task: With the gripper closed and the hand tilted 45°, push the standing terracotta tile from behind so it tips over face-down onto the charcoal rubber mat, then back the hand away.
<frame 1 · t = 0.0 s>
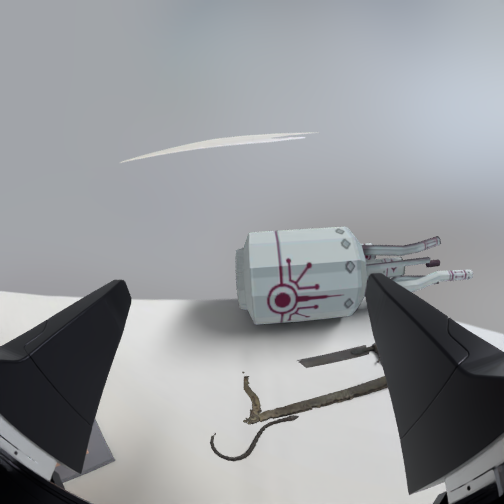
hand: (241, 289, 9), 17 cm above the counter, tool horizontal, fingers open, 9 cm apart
device: (364, 302, 33), on the counter
mat: (39, 421, 17), on the counter
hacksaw: (341, 396, 22), on the counter
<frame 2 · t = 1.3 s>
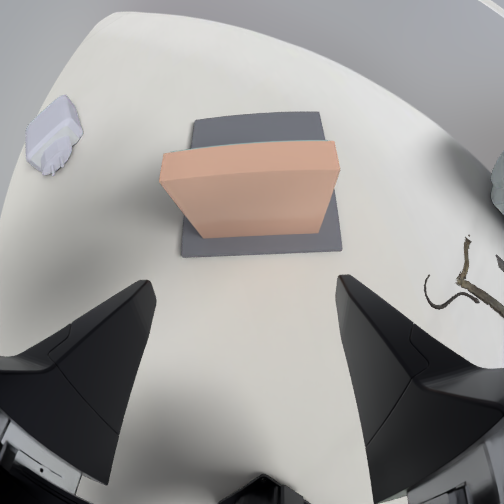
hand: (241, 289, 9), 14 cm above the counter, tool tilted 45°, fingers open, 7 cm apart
mat: (258, 174, 26), on the counter
tile: (259, 224, 24), point 1 cm above the counter, touching mat
charger: (62, 150, 32), on the counter
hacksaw: (501, 310, 20), on the counter
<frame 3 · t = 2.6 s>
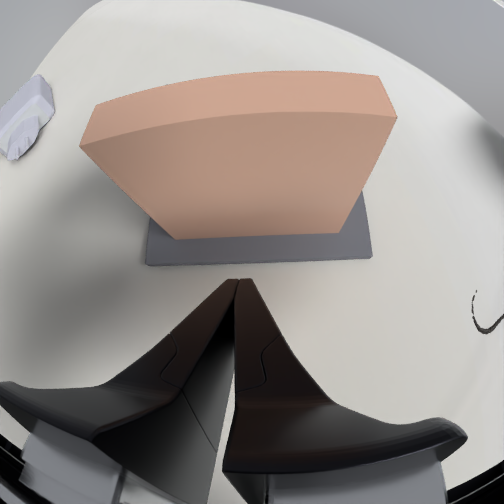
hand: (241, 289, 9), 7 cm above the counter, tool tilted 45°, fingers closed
mat: (254, 152, 19), on the counter
tile: (254, 220, 17), point 1 cm above the counter, touching mat
charger: (33, 133, 25), on the counter
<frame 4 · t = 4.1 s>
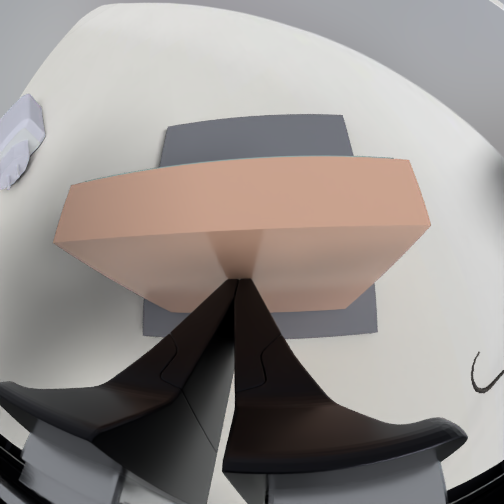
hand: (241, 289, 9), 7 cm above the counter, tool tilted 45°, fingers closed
mat: (255, 211, 18), on the counter
tile: (256, 295, 16), point 1 cm above the counter, tilted 6°, touching mat
charger: (24, 157, 24), on the counter
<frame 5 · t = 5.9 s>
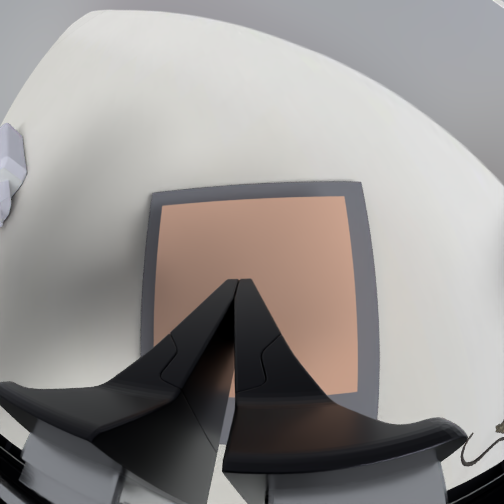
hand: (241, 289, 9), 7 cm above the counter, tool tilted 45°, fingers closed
mat: (256, 313, 16), on the counter
tile: (254, 393, 13), point 2 cm above the counter, tilted 90°, touching mat
charger: (7, 195, 22), on the counter
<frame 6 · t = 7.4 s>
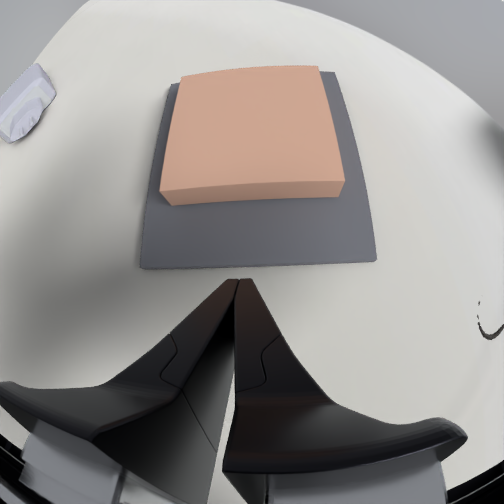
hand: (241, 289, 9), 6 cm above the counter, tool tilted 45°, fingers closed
mat: (253, 149, 18), on the counter
tile: (251, 192, 15), point 2 cm above the counter, tilted 90°, touching mat
charger: (33, 117, 24), on the counter
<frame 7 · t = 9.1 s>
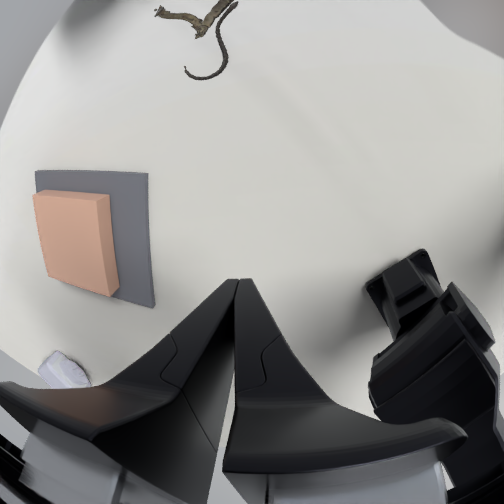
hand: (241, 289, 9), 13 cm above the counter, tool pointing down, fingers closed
mat: (88, 234, 26), on the counter
tile: (108, 248, 24), point 2 cm above the counter, tilted 90°, touching mat
charger: (73, 366, 40), on the counter
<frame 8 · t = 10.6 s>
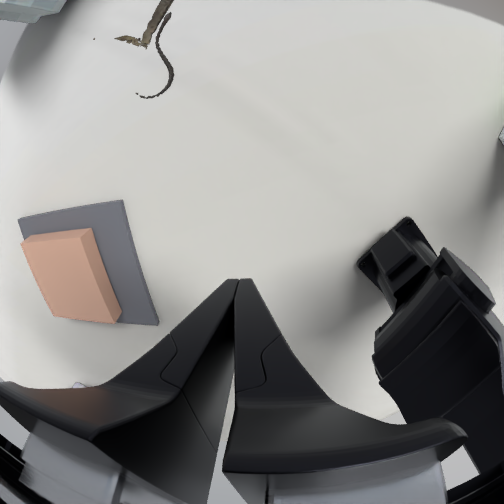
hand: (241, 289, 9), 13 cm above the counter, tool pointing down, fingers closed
mat: (81, 268, 26), on the counter
tile: (102, 278, 24), point 2 cm above the counter, tilted 90°, touching mat
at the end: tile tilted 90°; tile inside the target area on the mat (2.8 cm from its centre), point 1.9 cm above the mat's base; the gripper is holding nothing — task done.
